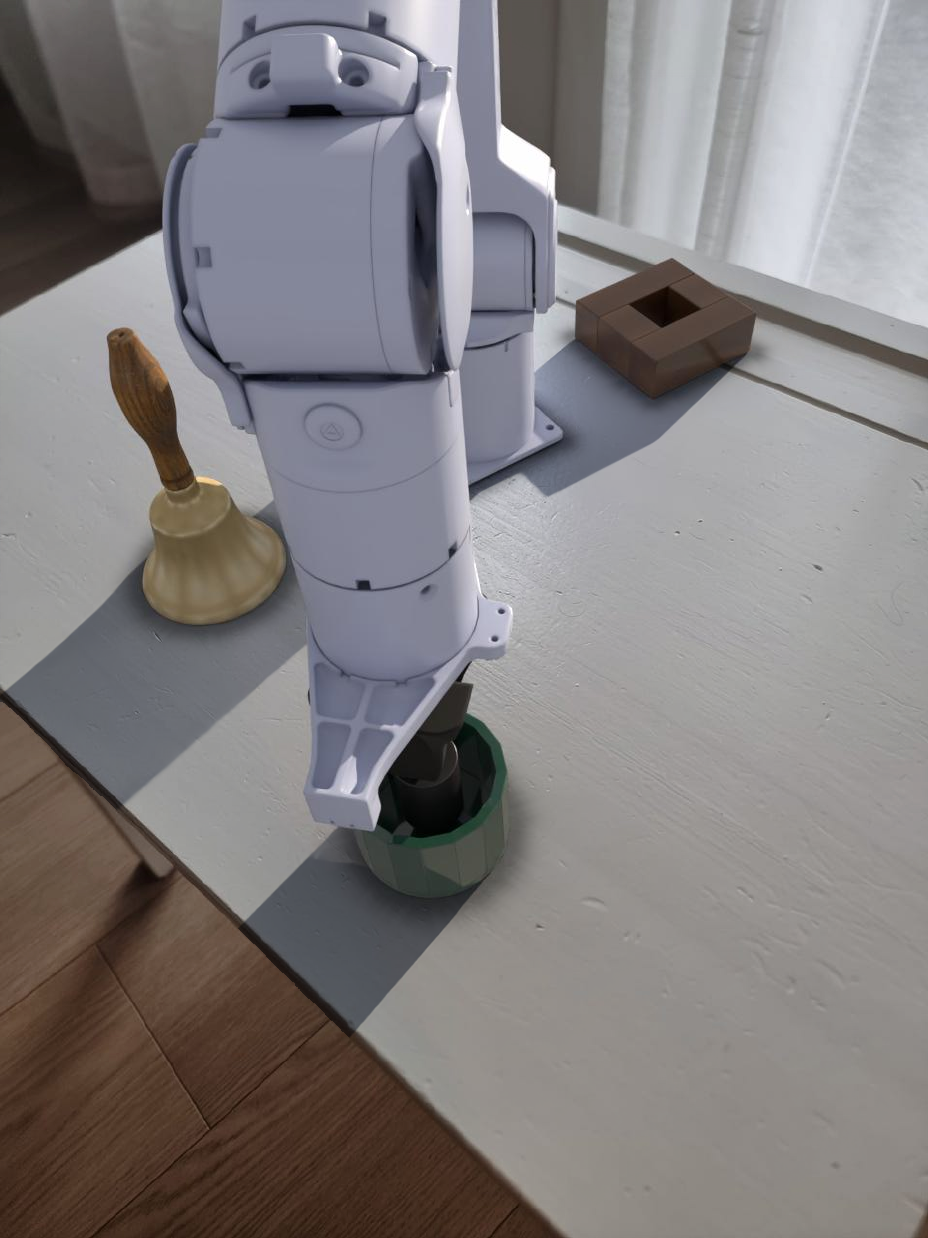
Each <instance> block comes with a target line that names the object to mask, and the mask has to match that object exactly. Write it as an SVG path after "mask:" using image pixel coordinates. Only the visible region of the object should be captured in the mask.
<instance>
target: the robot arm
mask: <svg viewBox="0 0 928 1238" xmlns="http://www.w3.org/2000/svg"><path fill="white" fill-rule="evenodd" d="M498 10H499V9H498V0H221V13H220V27H219V39H218V51H217V52H218V54H217V64H216V80H215V89H214V91H215V92H214V102H213V103H214V105H213V118H212V121H210V122H208V123H207V125H206V127H204V131H205V135H206V137H199V141H198V143H192V142H191V143H185V144H182V145H181V146H180V147H179V148H178V149H177V150H176V151H175V152H174V156H173V157H172V158H171V160H170V163H169V165H168V169H167V173H166V177H165V182H164V189H163V196H162V197H163V198H162V212H161V213H162V216H161V217H162V244H163V253H164V255H163V256H164V261H165V269H166V274H167V279H168V284H169V285H168V286H169V289H170V294H171V297H172V302H173V308H174V312H173V313H174V314H173V319H174V325H175V327H176V330H177V332H178V335H179V338H180V340H181V342H182V345H183V347H184V349H185V351H186V353H187V356H188V357H189V358H190V360H191V362H192V363H193V365H194V367H196V369H197V370H198V371H199V372H201V374H202V375H204V376H205V377H207V378H208V379H209V380H212V381H213V382H214V383H215V385H216V387H217V388H218V390H219V392H220V395H221V397H222V399H223V403H224V405H225V408H226V412H227V415H228V418H229V422H230V423H231V424H230V425H231V426H232V427H236V428H237V429H238V430H239V431H245V433H246V434H247V435H251V436H252V435H253V436H254V435H255V438H256V442H257V444H258V448H259V451H260V455H261V458H262V461H263V465H264V469H265V472H266V476H267V479H268V482H269V486H270V489H271V492H272V496H273V500H274V502H275V506H276V510H277V514H278V517H279V520H280V525H281V527H282V531H283V534H284V538H285V541H286V544H287V549H288V552H289V553H290V557H291V561H292V565H293V568H294V572H295V576H296V579H297V582H298V586H299V589H300V592H301V596H302V599H303V604H304V606H305V610H306V621H305V622H306V623H305V628H306V630H305V631H306V632H305V633H306V648H307V651H306V652H307V667H308V668H307V669H308V690H307V701H308V704H309V707H310V709H309V711H310V727H311V728H310V729H311V755H310V763H309V767H308V773H307V776H306V779H305V782H304V783H305V784H304V786H303V790H302V793H303V795H304V798H305V801H306V804H307V806H308V809H309V811H310V814H311V817H312V819H313V822H315V823H319V824H325V825H331V826H334V827H341V828H346V829H352V830H353V829H360V830H366V831H374V830H375V827H376V823H377V820H378V816H379V813H380V810H381V804H380V800H379V796H378V787H379V785H380V783H381V782H382V780H383V778H384V776H385V774H386V773H387V771H389V772H390V773H391V775H394V776H401V777H407V778H413V779H419V780H426V781H432V782H435V781H437V780H438V778H439V776H440V774H441V771H442V767H443V763H444V759H445V755H446V750H447V743H448V742H451V741H453V740H455V739H456V737H457V735H458V733H459V731H460V729H461V727H462V725H463V723H464V720H465V717H466V713H468V709H469V705H470V700H471V697H472V692H473V689H474V683H469V682H463V679H464V677H465V674H466V673H467V671H468V670H469V668H470V666H471V664H472V662H473V661H475V660H486V661H496V660H499V659H501V658H503V657H504V656H505V655H506V654H507V652H508V650H509V644H510V640H511V637H512V631H513V627H514V613H513V608H512V607H511V606H510V605H509V604H508V603H506V602H502V601H497V600H491V599H489V598H488V597H487V596H486V595H485V594H484V593H483V592H482V589H481V583H480V580H479V574H478V569H477V565H476V564H477V563H476V559H475V554H474V542H473V529H472V515H471V506H470V505H471V503H470V491H469V486H470V485H473V484H474V483H477V482H478V481H481V480H482V479H484V478H486V477H489V476H491V475H493V474H495V473H496V472H498V471H501V470H502V469H504V468H507V467H508V466H511V465H512V464H514V463H516V462H518V461H520V460H522V459H525V458H526V457H528V456H531V455H533V454H535V453H537V452H540V450H543V449H545V448H547V447H549V446H551V445H553V444H555V443H557V442H559V441H561V440H562V439H563V438H564V430H563V429H562V428H561V427H560V426H559V425H557V424H556V422H554V421H553V420H552V419H551V418H550V417H548V415H546V414H545V413H544V412H543V411H542V410H541V409H540V408H538V407H537V406H536V405H535V341H534V340H535V336H534V335H535V331H534V329H535V314H536V315H541V314H543V315H545V314H547V313H548V310H549V309H550V308H552V306H553V305H555V303H556V301H557V300H556V299H557V298H556V297H557V296H556V295H557V269H558V227H559V225H558V222H559V221H558V217H559V214H558V213H559V211H558V207H559V205H558V203H559V202H558V200H557V199H556V169H554V168H553V166H551V158H550V156H548V154H547V153H545V152H544V151H543V150H541V149H540V148H538V147H536V146H535V145H533V144H531V143H530V142H529V141H526V140H525V139H524V138H522V137H521V136H519V135H517V134H516V133H514V132H513V131H511V130H510V129H508V128H507V127H506V126H505V125H504V124H502V111H501V110H502V109H501V108H502V107H501V106H502V105H501V78H500V77H501V76H500V48H499V47H500V43H499V14H498V12H499V11H498Z"/></svg>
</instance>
